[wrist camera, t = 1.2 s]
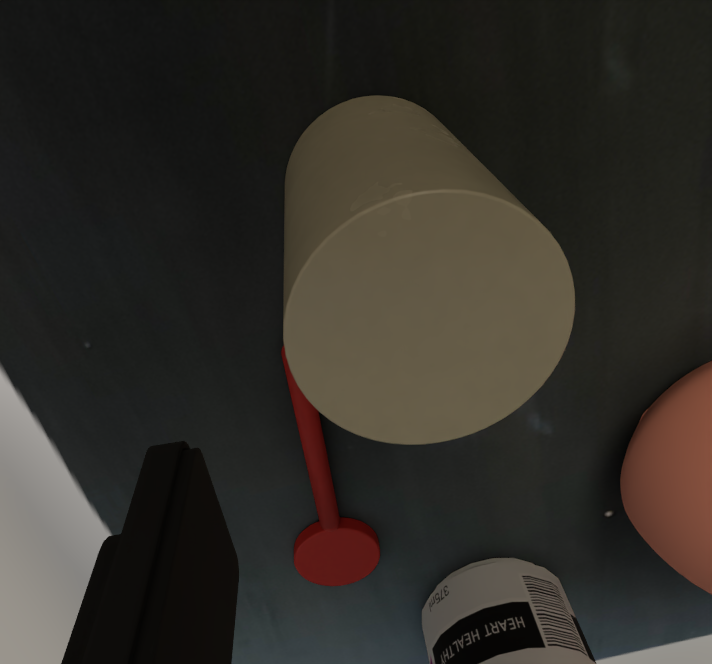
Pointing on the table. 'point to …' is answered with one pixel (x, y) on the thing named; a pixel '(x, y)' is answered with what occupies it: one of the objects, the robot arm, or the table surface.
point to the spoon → (327, 511)
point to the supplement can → (502, 617)
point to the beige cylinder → (414, 279)
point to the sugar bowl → (675, 476)
